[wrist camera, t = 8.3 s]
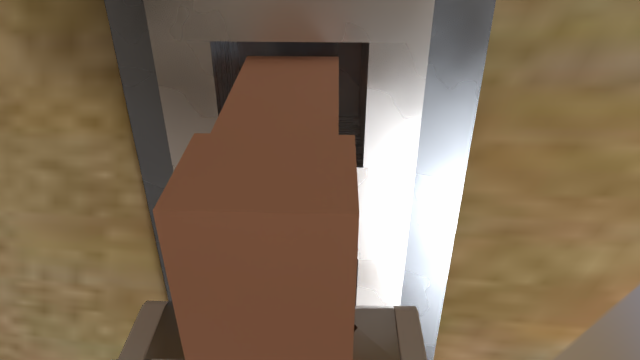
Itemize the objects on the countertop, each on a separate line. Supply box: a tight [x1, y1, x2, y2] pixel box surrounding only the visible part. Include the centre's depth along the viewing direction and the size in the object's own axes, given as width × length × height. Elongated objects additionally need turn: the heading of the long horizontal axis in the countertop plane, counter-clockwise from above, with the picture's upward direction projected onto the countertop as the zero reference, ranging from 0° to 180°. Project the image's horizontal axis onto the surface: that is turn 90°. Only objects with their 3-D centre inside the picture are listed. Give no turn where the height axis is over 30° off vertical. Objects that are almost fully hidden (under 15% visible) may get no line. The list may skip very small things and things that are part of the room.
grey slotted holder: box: [104, 0, 496, 360], centre depth 17 cm, size 22×12×4 cm, turn 0°
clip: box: [153, 56, 359, 360], centre depth 13 cm, size 9×3×7 cm, turn 0°
